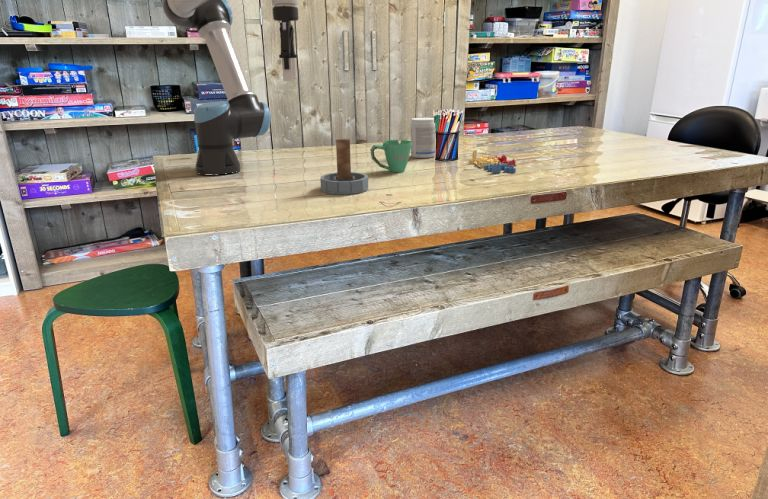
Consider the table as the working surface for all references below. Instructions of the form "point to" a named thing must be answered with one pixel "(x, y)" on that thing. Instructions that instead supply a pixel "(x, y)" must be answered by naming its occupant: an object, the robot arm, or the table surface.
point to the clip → (344, 179)
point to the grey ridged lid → (344, 184)
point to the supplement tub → (422, 137)
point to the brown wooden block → (343, 158)
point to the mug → (394, 154)
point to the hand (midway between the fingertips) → (290, 80)
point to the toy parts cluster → (493, 163)
